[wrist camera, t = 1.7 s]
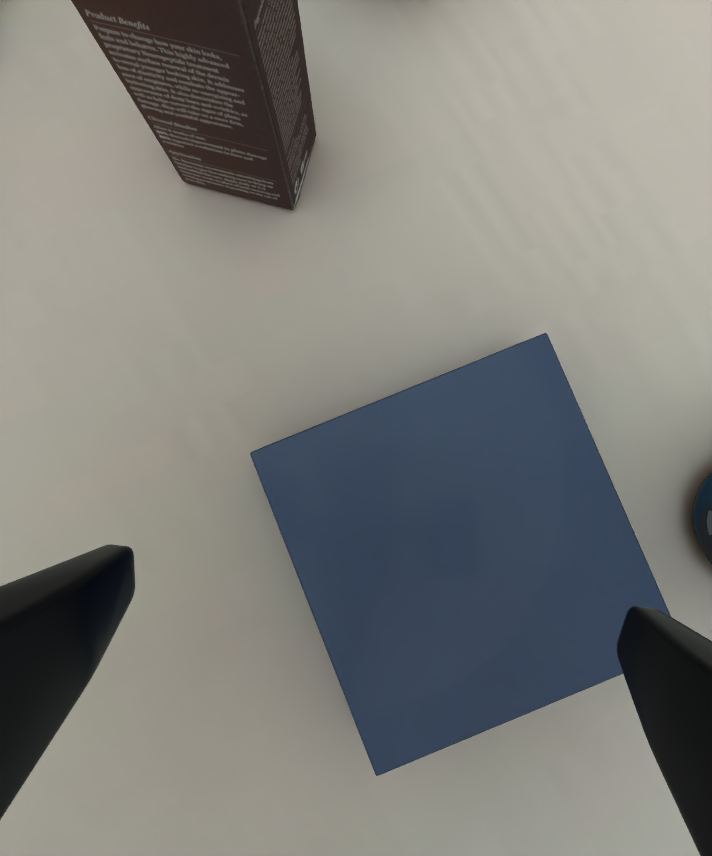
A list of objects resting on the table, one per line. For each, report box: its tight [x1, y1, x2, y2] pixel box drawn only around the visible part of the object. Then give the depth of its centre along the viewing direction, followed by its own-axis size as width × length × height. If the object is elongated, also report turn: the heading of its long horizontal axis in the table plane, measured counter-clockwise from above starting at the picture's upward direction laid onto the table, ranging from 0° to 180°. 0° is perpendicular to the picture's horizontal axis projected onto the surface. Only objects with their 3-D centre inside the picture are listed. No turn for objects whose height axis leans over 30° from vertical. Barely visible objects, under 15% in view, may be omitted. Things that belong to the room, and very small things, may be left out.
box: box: [71, 0, 316, 209], centre depth 18 cm, size 6×4×12 cm
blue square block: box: [250, 333, 671, 776], centre depth 21 cm, size 14×14×3 cm
